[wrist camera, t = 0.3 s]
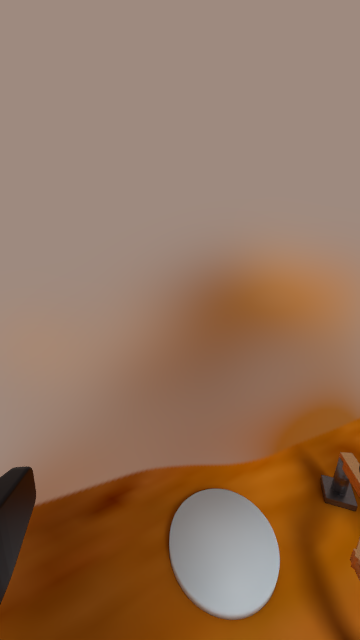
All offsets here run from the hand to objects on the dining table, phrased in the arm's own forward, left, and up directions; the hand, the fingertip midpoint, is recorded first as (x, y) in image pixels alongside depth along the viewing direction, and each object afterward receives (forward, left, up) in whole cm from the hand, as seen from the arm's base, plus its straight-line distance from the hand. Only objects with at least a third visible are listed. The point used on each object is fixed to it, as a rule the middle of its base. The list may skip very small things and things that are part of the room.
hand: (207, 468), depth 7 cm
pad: (+7, -4, -17) cm, 19 cm away
